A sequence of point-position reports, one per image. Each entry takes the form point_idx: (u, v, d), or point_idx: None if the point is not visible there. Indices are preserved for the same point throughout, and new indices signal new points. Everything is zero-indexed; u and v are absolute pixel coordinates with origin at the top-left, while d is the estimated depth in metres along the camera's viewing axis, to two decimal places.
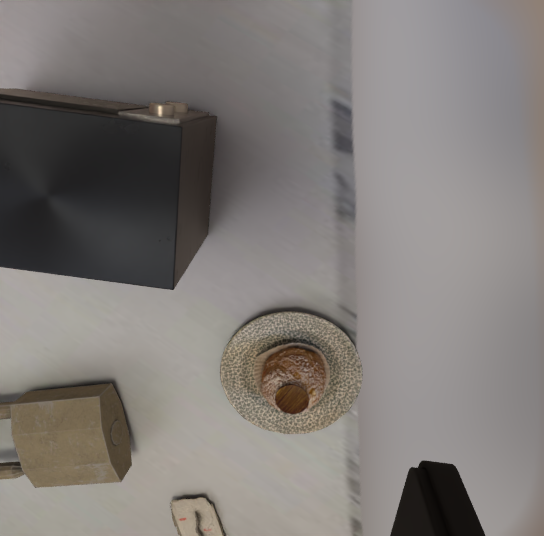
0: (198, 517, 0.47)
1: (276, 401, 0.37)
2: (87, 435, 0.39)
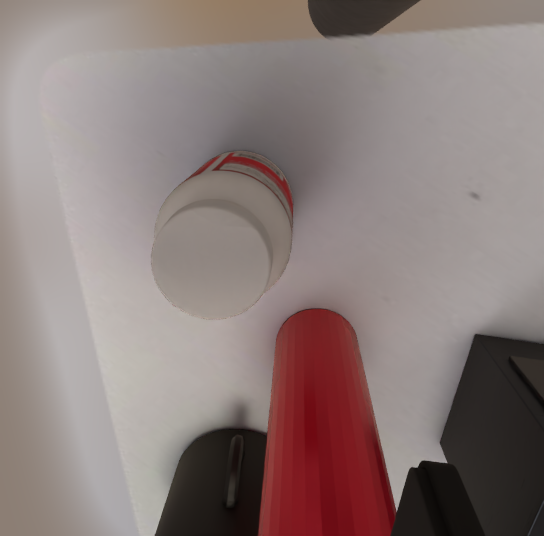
0: None
1: None
2: None
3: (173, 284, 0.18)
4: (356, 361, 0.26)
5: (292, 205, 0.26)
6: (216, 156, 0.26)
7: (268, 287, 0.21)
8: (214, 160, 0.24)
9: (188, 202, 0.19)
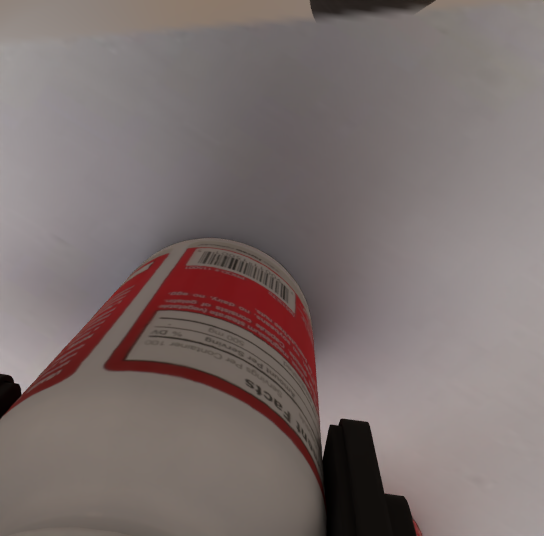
0: None
1: None
2: None
3: None
4: None
5: (314, 353, 0.13)
6: (161, 252, 0.13)
7: None
8: (147, 277, 0.11)
9: (16, 494, 0.06)
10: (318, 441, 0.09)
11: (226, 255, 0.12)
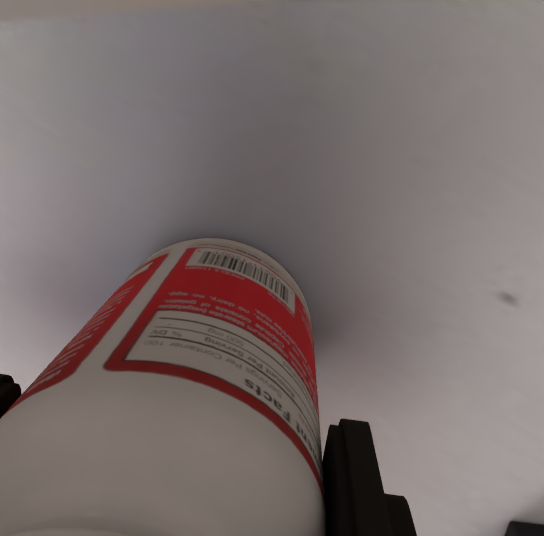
0: None
1: None
2: None
3: None
4: None
5: None
6: (161, 252, 0.13)
7: None
8: (147, 277, 0.11)
9: (16, 494, 0.06)
10: (318, 441, 0.09)
11: (226, 255, 0.12)
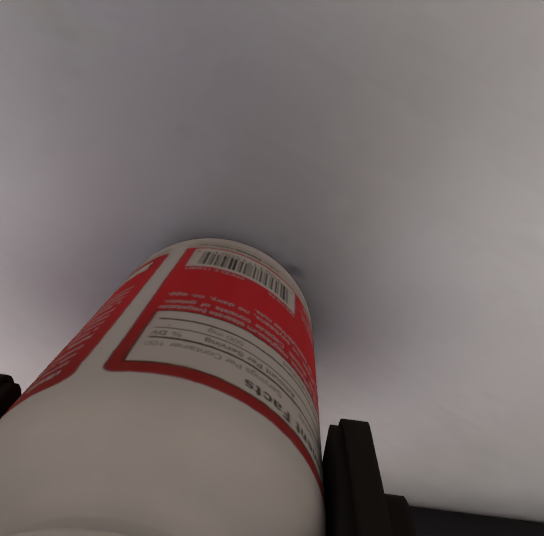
0: None
1: None
2: None
3: None
4: None
5: None
6: (161, 252, 0.13)
7: None
8: (147, 277, 0.11)
9: (16, 494, 0.06)
10: (318, 441, 0.09)
11: (226, 255, 0.12)
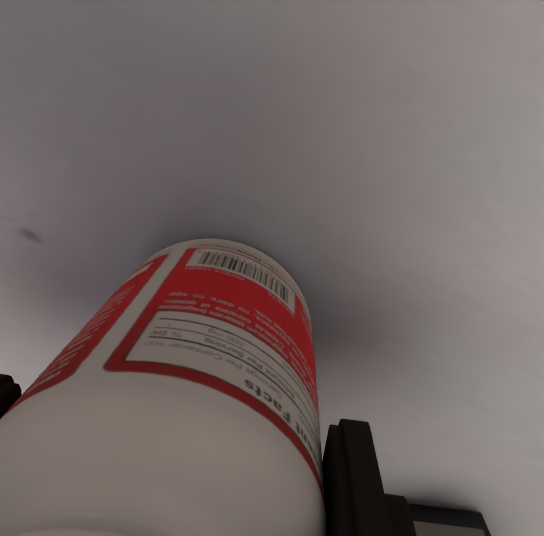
0: None
1: None
2: None
3: None
4: None
5: None
6: (161, 252, 0.13)
7: None
8: (147, 277, 0.11)
9: (16, 495, 0.06)
10: (318, 442, 0.09)
11: (226, 255, 0.12)
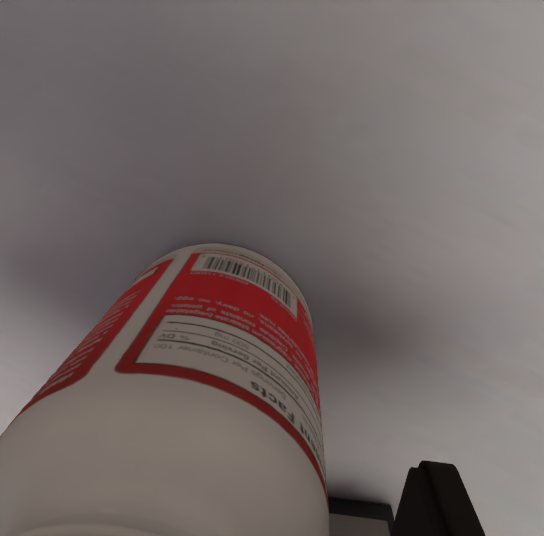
0: None
1: None
2: None
3: None
4: None
5: (315, 356, 0.13)
6: (166, 257, 0.14)
7: None
8: (153, 282, 0.12)
9: (32, 491, 0.07)
10: (320, 442, 0.09)
11: (230, 260, 0.13)
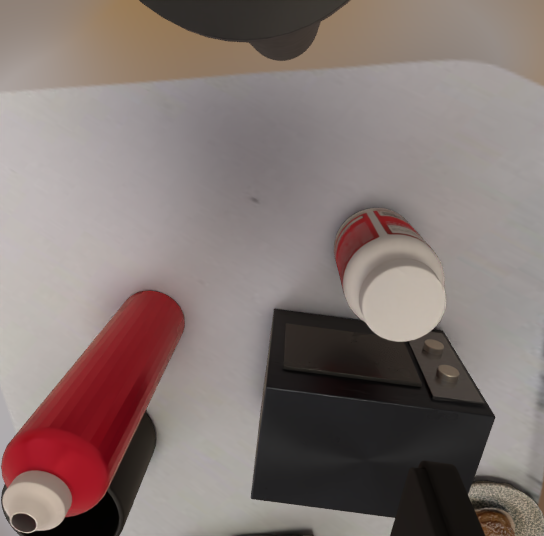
0: None
1: None
2: None
3: (376, 317, 0.27)
4: (158, 327, 0.34)
5: None
6: (360, 213, 0.35)
7: None
8: (368, 219, 0.33)
9: (378, 258, 0.28)
10: None
11: (389, 213, 0.34)
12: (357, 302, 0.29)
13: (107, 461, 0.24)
